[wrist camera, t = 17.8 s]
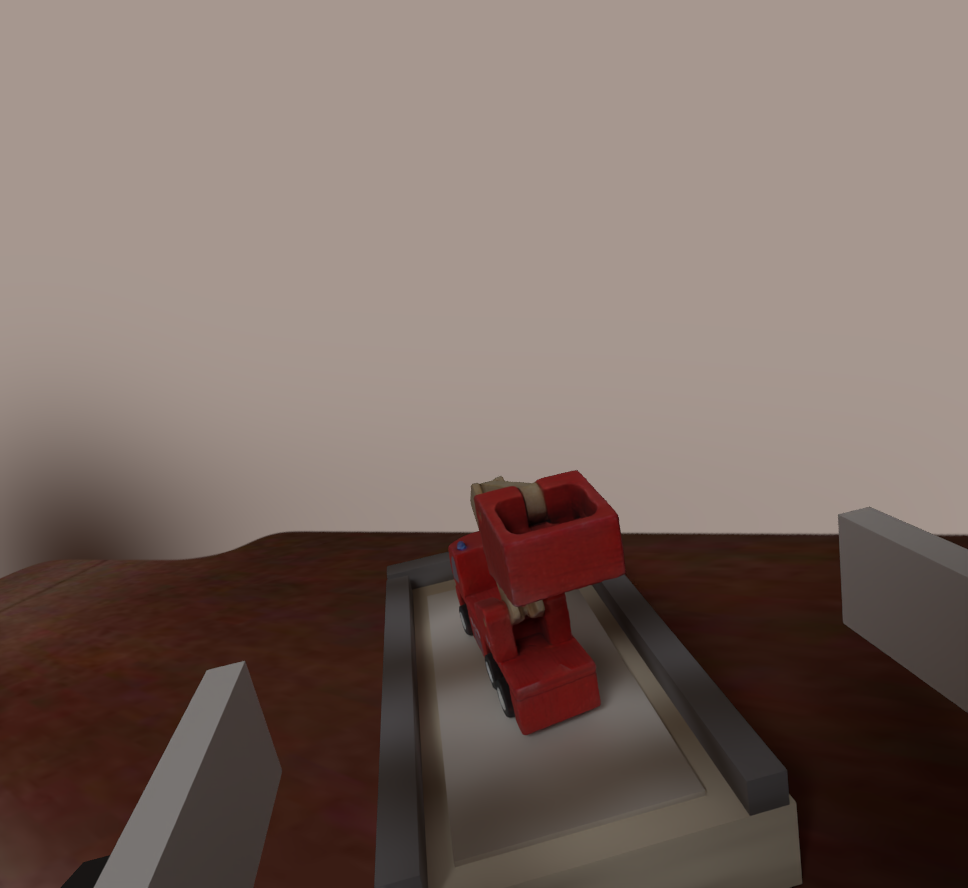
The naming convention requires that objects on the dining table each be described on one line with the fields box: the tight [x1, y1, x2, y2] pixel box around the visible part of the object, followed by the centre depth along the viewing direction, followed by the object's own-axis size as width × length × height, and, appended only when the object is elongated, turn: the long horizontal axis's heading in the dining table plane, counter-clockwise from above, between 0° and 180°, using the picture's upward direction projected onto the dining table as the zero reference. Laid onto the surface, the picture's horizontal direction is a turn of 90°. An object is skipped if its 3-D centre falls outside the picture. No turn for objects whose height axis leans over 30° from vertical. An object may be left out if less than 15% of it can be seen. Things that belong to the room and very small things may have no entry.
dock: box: [374, 552, 802, 888], centre depth 26 cm, size 20×12×4 cm, turn 9°
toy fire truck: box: [449, 470, 626, 735], centre depth 23 cm, size 3×14×10 cm, turn 16°
